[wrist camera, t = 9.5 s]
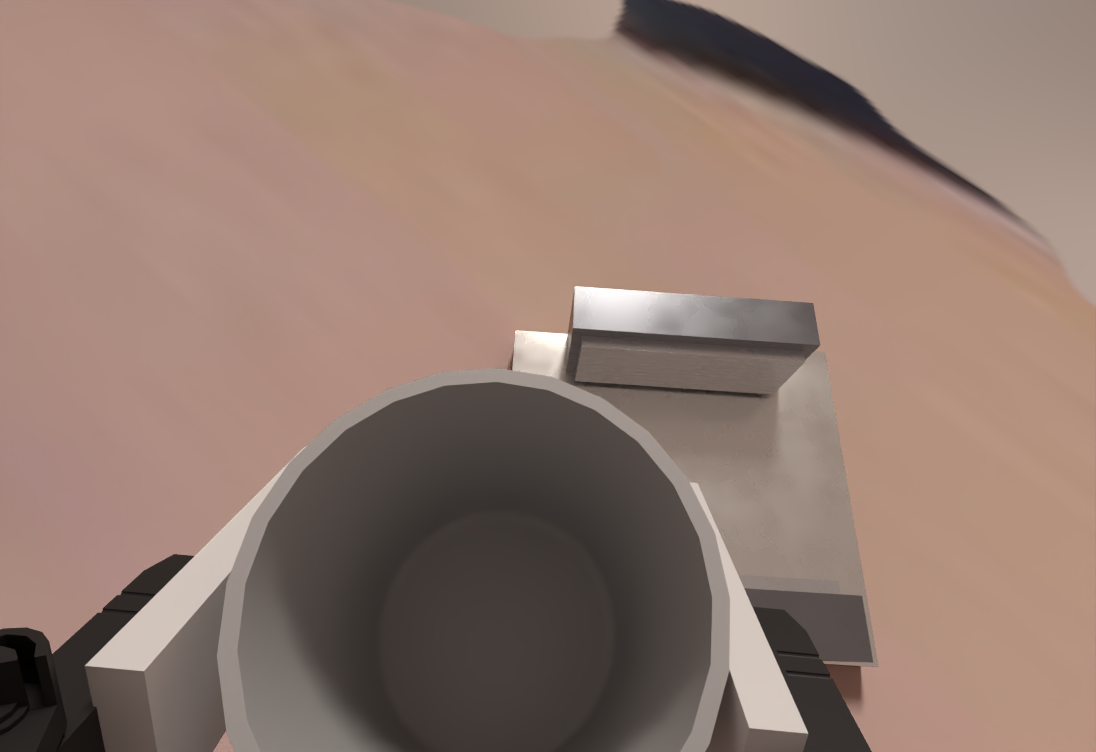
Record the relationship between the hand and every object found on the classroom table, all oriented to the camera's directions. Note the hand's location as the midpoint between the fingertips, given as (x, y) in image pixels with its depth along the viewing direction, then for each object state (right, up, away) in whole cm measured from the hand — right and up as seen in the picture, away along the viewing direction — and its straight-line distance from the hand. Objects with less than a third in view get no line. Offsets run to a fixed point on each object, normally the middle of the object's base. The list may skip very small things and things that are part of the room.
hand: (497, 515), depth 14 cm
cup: (-1, -5, +2) cm, 5 cm away
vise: (+8, -5, +16) cm, 19 cm away
